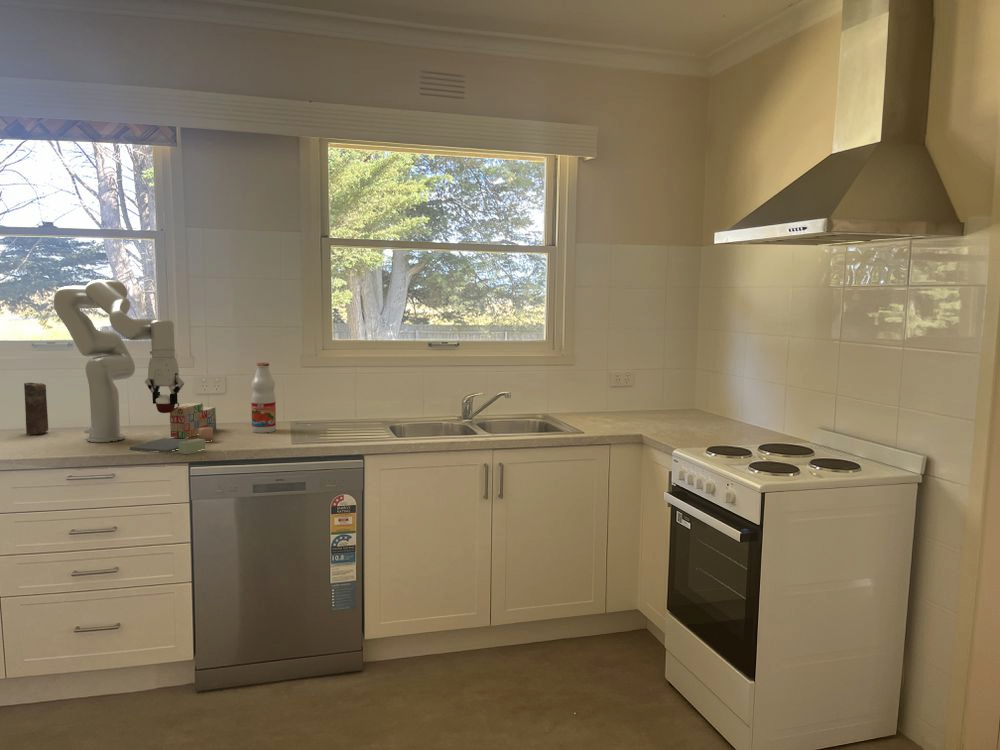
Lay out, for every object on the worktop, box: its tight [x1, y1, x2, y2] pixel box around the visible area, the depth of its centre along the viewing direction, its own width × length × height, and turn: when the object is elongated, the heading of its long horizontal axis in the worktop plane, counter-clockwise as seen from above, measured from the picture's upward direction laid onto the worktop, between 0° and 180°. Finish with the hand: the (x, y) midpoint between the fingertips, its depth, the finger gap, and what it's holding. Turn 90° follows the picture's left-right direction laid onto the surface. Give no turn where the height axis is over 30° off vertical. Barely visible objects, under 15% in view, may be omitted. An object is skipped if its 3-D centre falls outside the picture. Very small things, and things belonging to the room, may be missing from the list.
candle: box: [23, 382, 49, 436], centre depth 284 cm, size 8×7×20 cm
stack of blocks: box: [169, 402, 217, 439], centre depth 290 cm, size 21×6×12 cm, turn 169°
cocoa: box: [150, 380, 180, 414], centre depth 264 cm, size 10×6×12 cm, turn 97°
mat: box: [128, 437, 188, 454], centre depth 266 cm, size 16×18×1 cm
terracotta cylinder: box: [198, 427, 214, 441], centre depth 277 cm, size 5×5×5 cm
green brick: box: [178, 437, 207, 455], centre depth 259 cm, size 4×8×4 cm, turn 152°
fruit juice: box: [250, 362, 277, 434], centre depth 297 cm, size 9×9×28 cm
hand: (165, 403), depth 264 cm, fingers closed on cocoa, 6 cm apart
